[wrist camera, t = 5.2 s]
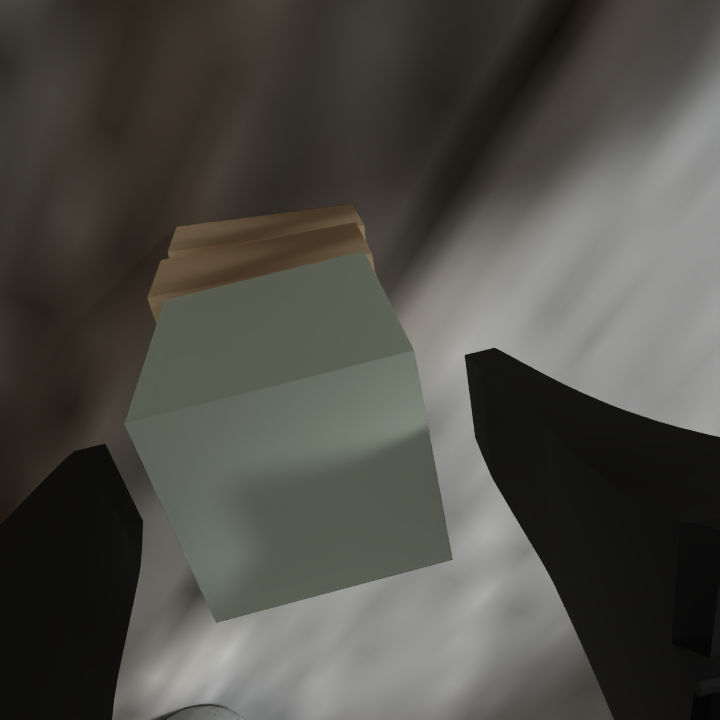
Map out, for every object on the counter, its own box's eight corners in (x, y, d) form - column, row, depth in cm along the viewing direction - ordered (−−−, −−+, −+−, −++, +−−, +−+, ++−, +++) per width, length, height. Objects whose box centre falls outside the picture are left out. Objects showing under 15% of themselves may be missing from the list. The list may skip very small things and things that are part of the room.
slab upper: (355, 222, 16) (371, 253, 14) (381, 386, 19) (398, 434, 17) (160, 260, 16) (147, 297, 14) (212, 422, 19) (208, 476, 16)
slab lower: (351, 201, 19) (364, 225, 16) (366, 352, 21) (379, 390, 19) (178, 223, 18) (167, 251, 16) (213, 374, 21) (208, 417, 18)
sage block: (364, 250, 14) (413, 350, 10) (398, 417, 16) (452, 559, 12) (164, 300, 14) (123, 424, 10) (225, 461, 16) (215, 622, 12)
